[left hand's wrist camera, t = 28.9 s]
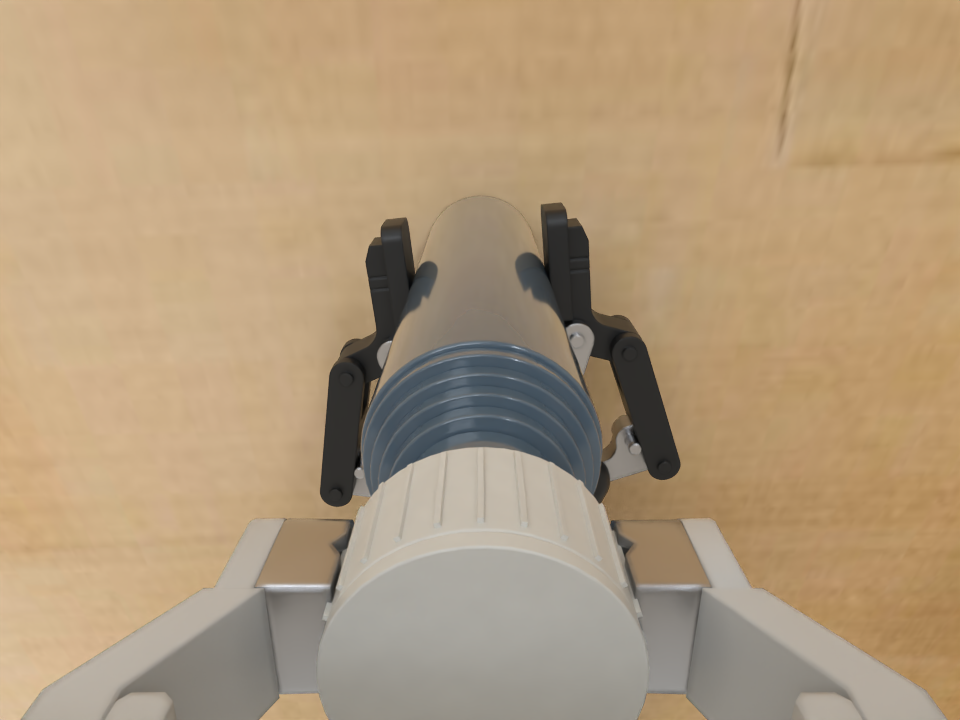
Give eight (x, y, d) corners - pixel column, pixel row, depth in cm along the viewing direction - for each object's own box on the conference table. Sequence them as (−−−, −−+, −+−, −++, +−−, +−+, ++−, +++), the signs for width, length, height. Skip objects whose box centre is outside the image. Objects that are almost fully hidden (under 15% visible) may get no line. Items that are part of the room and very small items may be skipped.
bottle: (541, 292, 31) (676, 746, 10) (438, 309, 31) (348, 785, 10) (526, 186, 29) (651, 454, 8) (417, 205, 30) (254, 512, 8)
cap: (676, 545, 10) (728, 664, 8) (500, 705, 11) (505, 845, 9) (460, 387, 9) (454, 475, 7) (292, 580, 10) (246, 703, 8)
